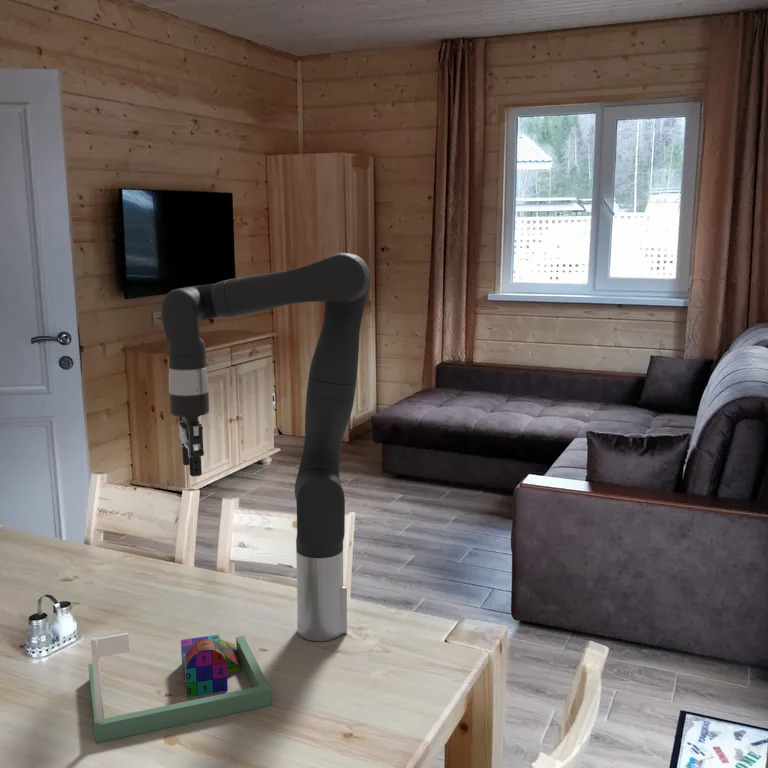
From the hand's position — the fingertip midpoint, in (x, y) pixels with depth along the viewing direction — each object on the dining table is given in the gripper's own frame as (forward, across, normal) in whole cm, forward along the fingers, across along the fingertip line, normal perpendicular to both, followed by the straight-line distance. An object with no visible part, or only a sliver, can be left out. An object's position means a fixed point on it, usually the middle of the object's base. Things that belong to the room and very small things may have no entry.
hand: (192, 469), depth 163 cm
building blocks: (+33, -21, +1) cm, 39 cm away
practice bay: (+32, -26, +8) cm, 42 cm away
